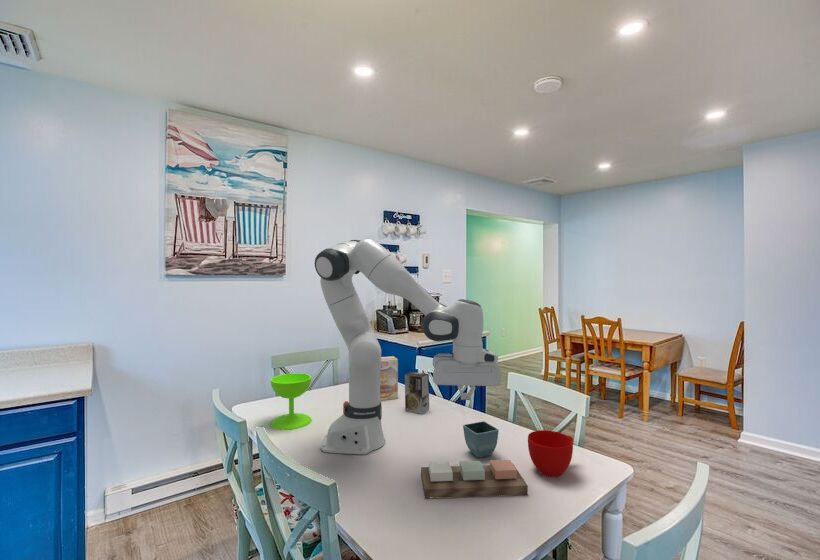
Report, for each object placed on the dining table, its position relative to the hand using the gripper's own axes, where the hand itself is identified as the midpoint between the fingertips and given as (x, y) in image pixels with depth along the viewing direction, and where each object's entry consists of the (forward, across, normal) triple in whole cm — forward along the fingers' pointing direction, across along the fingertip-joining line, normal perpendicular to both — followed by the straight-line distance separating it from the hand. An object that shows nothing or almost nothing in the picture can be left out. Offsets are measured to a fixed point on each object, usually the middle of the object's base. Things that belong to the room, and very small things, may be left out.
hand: (465, 399), depth 119 cm
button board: (+22, +1, -7) cm, 23 cm away
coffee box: (+23, -10, +55) cm, 60 cm away
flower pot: (+22, +8, +12) cm, 26 cm away
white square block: (+22, -8, -7) cm, 24 cm away
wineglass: (+25, -62, +45) cm, 80 cm away
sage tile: (+22, +1, -7) cm, 23 cm away
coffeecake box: (+24, -26, +73) cm, 81 cm away
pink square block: (+21, +10, -7) cm, 25 cm away
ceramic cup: (+21, +28, 0) cm, 35 cm away
